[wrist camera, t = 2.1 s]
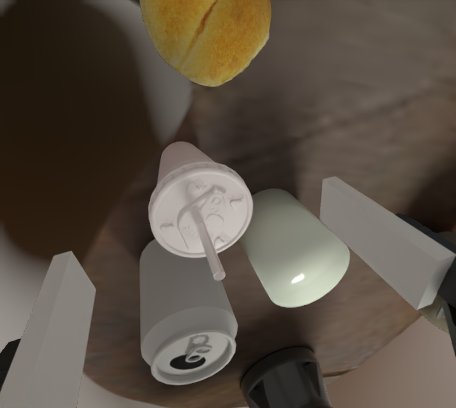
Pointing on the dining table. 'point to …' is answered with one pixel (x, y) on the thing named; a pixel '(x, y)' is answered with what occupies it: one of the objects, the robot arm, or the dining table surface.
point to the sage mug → (292, 250)
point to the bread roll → (207, 35)
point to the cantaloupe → (432, 309)
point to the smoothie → (198, 205)
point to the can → (183, 317)
